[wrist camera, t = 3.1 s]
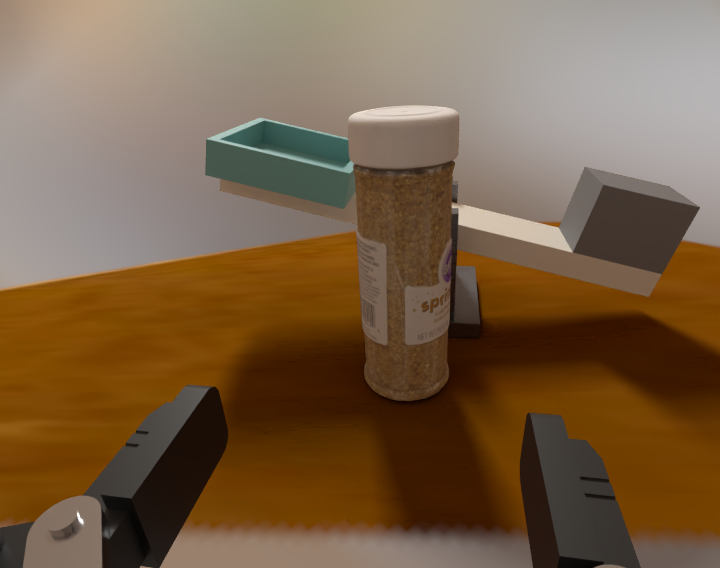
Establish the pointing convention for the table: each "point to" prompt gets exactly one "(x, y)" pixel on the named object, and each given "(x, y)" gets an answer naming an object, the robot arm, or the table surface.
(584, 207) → the beam
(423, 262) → the sprinkles bottle
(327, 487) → the table surface
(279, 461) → the table surface
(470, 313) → the pivot stand
